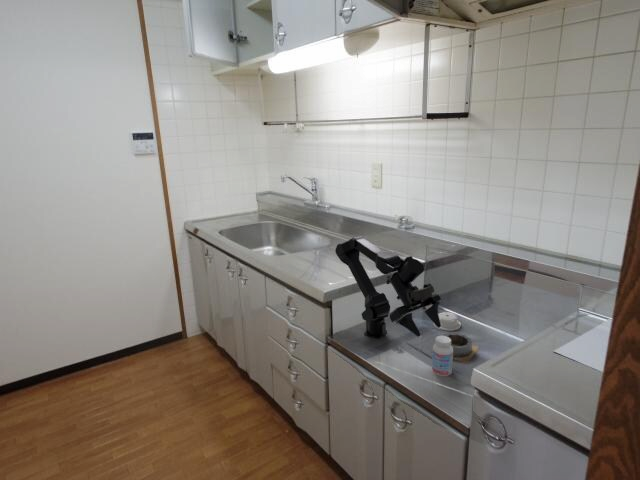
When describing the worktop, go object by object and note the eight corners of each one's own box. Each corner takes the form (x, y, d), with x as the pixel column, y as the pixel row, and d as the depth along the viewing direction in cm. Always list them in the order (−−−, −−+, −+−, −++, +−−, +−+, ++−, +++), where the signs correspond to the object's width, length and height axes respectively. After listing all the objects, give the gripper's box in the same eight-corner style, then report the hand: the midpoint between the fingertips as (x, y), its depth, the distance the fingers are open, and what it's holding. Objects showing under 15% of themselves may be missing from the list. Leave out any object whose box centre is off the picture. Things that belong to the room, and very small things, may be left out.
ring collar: (435, 351, 135) (435, 342, 134) (447, 339, 143) (447, 330, 142) (465, 360, 129) (465, 351, 128) (475, 347, 137) (475, 338, 136)
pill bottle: (429, 374, 124) (430, 341, 121) (434, 364, 129) (435, 332, 126) (449, 379, 121) (451, 345, 118) (454, 369, 126) (455, 336, 123)
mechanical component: (464, 324, 154) (439, 318, 161) (465, 314, 153) (440, 308, 159) (454, 335, 147) (429, 328, 153) (455, 324, 146) (429, 317, 152)
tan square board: (431, 353, 135) (431, 352, 135) (445, 338, 144) (445, 337, 144) (467, 364, 128) (467, 363, 128) (479, 348, 137) (479, 347, 137)
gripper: (395, 284, 121) (422, 330, 115) (437, 270, 131) (464, 312, 125) (378, 300, 130) (403, 344, 124) (419, 286, 140) (444, 326, 133)
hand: (429, 331), depth 126 cm, fingers open, 9 cm apart
